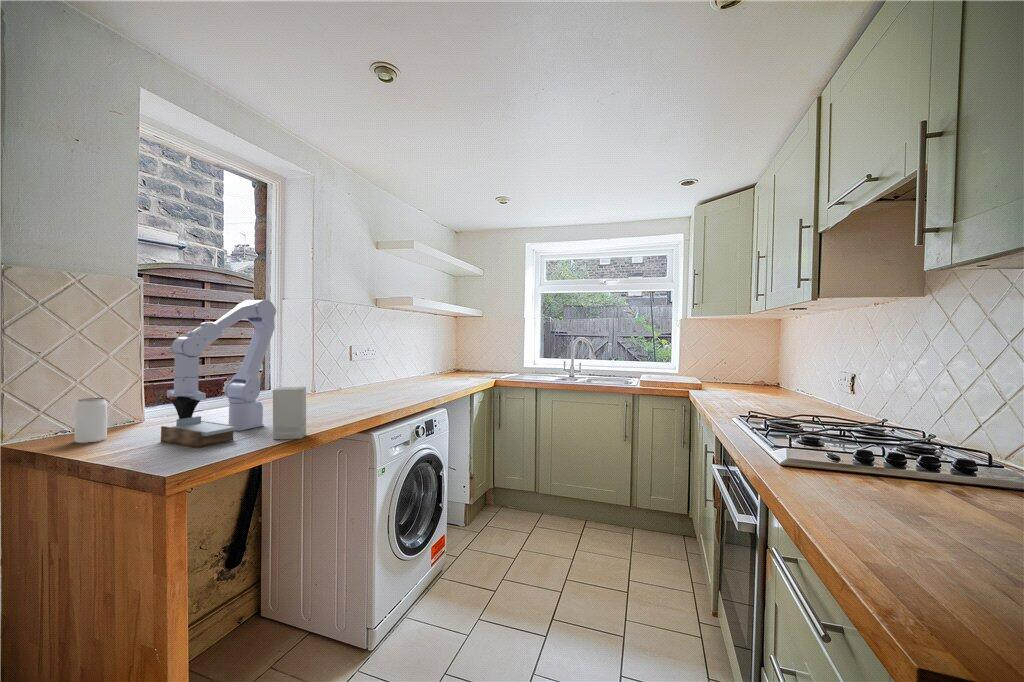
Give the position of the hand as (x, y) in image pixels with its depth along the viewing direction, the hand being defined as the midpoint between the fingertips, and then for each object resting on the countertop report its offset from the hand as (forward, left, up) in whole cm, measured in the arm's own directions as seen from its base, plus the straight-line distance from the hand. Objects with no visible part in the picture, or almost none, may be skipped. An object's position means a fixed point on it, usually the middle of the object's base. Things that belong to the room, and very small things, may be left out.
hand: (185, 422), depth 123 cm
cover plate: (0, +8, -2) cm, 8 cm away
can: (+13, -19, -5) cm, 24 cm away
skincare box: (-15, +25, -5) cm, 29 cm away
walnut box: (0, +6, -5) cm, 8 cm away
